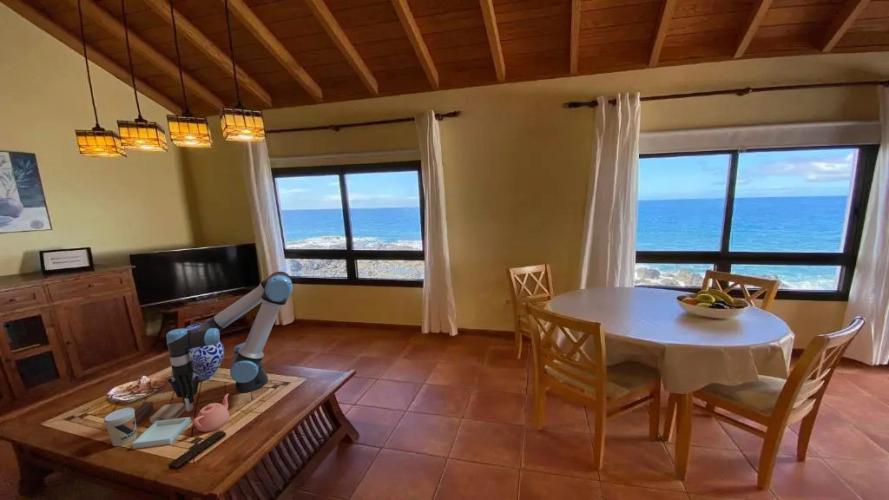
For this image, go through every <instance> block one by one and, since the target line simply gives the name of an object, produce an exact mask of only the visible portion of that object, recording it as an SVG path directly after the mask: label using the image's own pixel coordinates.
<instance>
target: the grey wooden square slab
mask: <svg viewBox="0 0 889 500" xmlns="http://www.w3.org/2000/svg"><path fill="white" fill-rule="evenodd" d="M185 411H186V405H185V404H183V402H177V403H169V404H168V403H167V404H164V405H163V406H161V407H160V408H159V409H158V410H157V411H156V412H155V413H154V414H153V415H151V416H149V421H150V423H151V424H154V423H155V422H156V421H161V420H169V419H178V418H180V416H181V415H182V414H183V413H184V412H185Z"/></svg>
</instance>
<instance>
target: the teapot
mask: <svg viewBox="0 0 889 500" xmlns="http://www.w3.org/2000/svg"><path fill="white" fill-rule="evenodd" d="M229 394H230V393H226V394H225V395H224V397H223V400H222V403H218V402H213V403H212V402H211V403H208V404H207V405H205V406H204V407H202V408H201V409H200V410H199V412H198V414H197V416H196V417H195V418H194V419H193V421H192V422H193V425H195V427H196V429H197V430H198V431H200V432H204V433H208V432H213V431H216V430H218V429H220V428H222V427H223V426H224V425H225V424H226V423H227V422H228V421H229V420H230V413H229V410H228V409H229V402H228V396H229Z"/></svg>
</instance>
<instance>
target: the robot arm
mask: <svg viewBox="0 0 889 500" xmlns="http://www.w3.org/2000/svg"><path fill="white" fill-rule="evenodd" d="M292 292H293V281H292V278H291V276H290V275H289V274H288V273H287V272H285V271H276V272H273V273H271V274H270V275H269V276H267V277H266V278H264V279H263V280H262V281H261V282H259V285H258V286H257V287H256V288H253V289H252V290H251V291H250V292H248V293H246V294H245V295H244V296H241V298H239V299H238V300H236V301H234V303H232V304H230V305H229V306H227V307H226V308H224V309H223V310H222V311H220V312H219V313H217V314H216V315H214V316H213V317H211V318H208V319H206V320H205V321H204V322H202V323H203V324H202V326H201V328H200V329H199V331H195V332H189V331H187V330H186V329H185V328H183V327H182V328H176V329H171V330H170V331H168V332H167V333H166V335H165V336H166V345H167V349H168V354H169V360H170V365H171V371H172V376H171V377H170V378H169V379H167V382H168V383H169V384H170V385H171V387H172V390H173V391H174V393H175V395H176V397H177V398H178V399H179V398H182V403H183V404H185V405H186V410H185V411H186V412H191V411H192V410H193V408H194V402H195V399H194V396H195V395H197V393H198V390H199V389H198V388H199V382H200V381H199V377H200V376H201V375H200V374H198V375H197V374H195V373H194V371H193V365H192V361H191V354H190V349H192V348H198V347H204V346H211V345H214V344H217V343H219V341H220V342H221V340H220V339H221V336H220V335H221V334H220V332H221V331H222V330H223V329H225V328H227V327H228V326H230V325H231V324H233V322H235V321H237V320H238V319H239V318H241V317H242V316H244V315H245V314H246V313H248V312H250V311H251V310H253V309H254V308H255V307H257V306H258V305H260V304H261V305H260V308H259V310H258V311H257V313H256V316H255V319H254V321H253V323H252V326H251V328H250V331H249V333H248V335H247V338H246V339H245V342H243V343H242V342H241V343H239V344H236V345H235V346H234V347H233V354H234V358H233V361H232V364H231V367H230V369H229V370H230V371H229V372H230V373H229V374H230V377H231V379H232V380H233V381H235V391H236V392H238V393H249V392H254V391H256V390H258V389H261V388H262V387H264V386H265V385H267V383H268V382H269V378H268V377H269V376H268V374H267V373H266V371H265V369H264V368H263V362H262V361H263V359H264V356H265V354H264V352H263V351H264V347H265V345H266V343H267V341H268V339H269V336H270V334H271V331H272V328H273V326H274V324H275V321H276V319H277V317H278V314H279V312H280V310H281V307H284V306H286V304H287V301H288V299H289V297H291V294H292Z"/></svg>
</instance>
